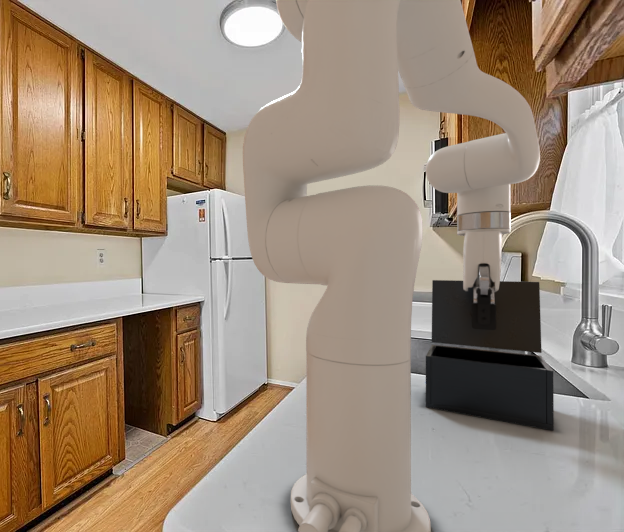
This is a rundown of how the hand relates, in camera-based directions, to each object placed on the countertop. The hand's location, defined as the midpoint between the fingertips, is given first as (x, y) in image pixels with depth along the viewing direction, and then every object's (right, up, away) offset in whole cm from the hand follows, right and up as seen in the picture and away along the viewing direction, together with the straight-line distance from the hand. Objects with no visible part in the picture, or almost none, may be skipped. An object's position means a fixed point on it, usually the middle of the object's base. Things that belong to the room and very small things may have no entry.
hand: (483, 325), depth 63 cm
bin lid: (+4, +1, +6) cm, 7 cm away
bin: (+1, -14, +1) cm, 14 cm away
